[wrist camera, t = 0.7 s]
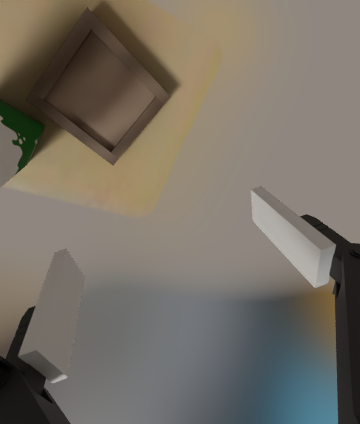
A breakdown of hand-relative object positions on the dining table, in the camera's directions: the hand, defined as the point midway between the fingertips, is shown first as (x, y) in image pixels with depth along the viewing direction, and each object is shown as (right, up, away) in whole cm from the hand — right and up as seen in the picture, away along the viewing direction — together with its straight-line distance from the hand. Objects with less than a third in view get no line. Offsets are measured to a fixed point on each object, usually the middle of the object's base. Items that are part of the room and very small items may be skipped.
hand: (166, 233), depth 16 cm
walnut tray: (-11, +19, +19) cm, 29 cm away
